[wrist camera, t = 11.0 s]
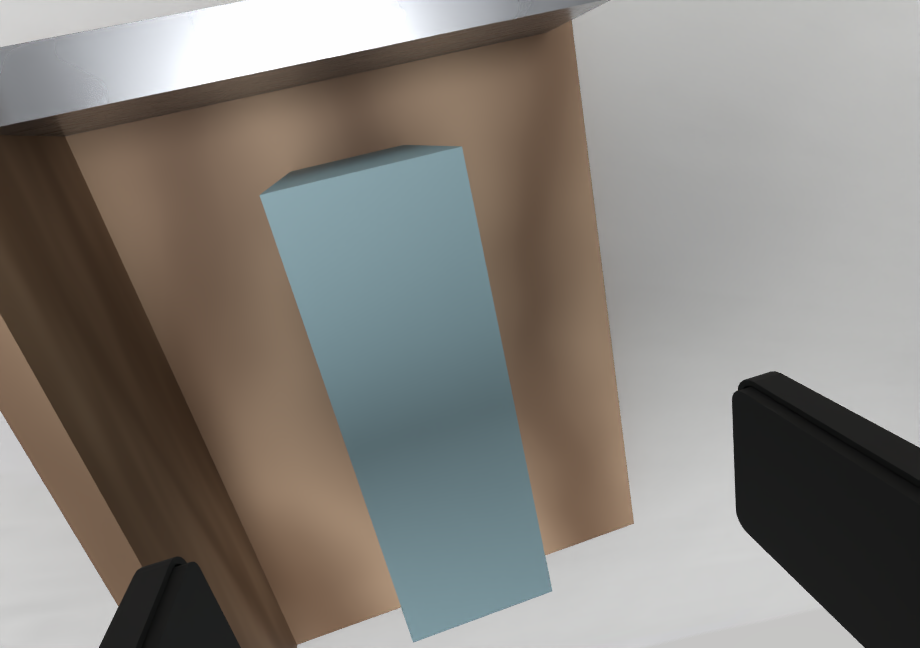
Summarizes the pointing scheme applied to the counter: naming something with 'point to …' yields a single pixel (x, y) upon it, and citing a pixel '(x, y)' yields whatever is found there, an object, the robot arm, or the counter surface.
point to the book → (415, 374)
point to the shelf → (280, 282)
